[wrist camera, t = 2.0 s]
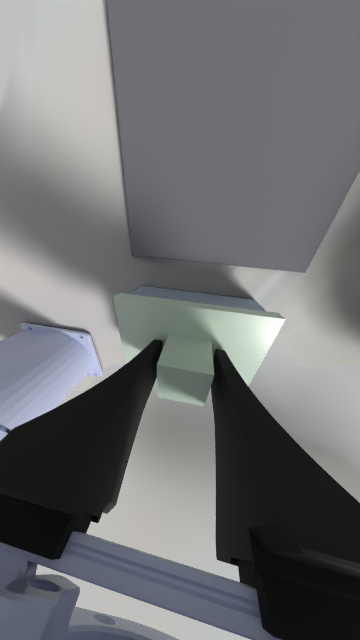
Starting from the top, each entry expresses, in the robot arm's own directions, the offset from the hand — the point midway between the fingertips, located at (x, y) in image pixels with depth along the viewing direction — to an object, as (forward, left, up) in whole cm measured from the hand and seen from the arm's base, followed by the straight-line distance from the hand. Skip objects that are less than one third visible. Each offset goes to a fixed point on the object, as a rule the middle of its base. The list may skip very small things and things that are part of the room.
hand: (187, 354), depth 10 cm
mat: (+1, +11, -4) cm, 12 cm away
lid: (0, 0, -1) cm, 1 cm away
